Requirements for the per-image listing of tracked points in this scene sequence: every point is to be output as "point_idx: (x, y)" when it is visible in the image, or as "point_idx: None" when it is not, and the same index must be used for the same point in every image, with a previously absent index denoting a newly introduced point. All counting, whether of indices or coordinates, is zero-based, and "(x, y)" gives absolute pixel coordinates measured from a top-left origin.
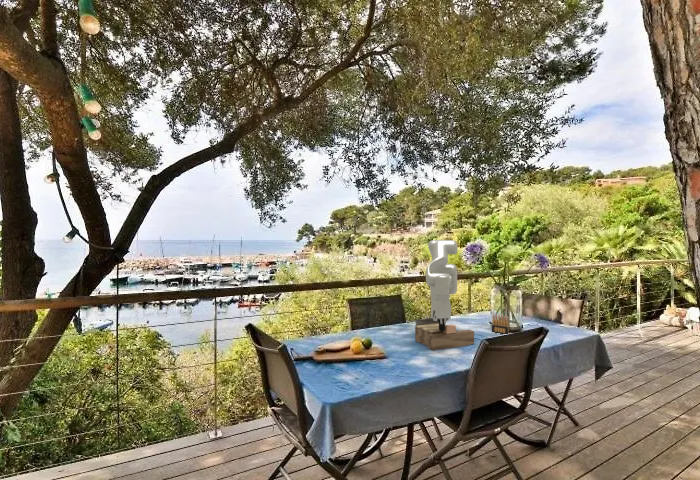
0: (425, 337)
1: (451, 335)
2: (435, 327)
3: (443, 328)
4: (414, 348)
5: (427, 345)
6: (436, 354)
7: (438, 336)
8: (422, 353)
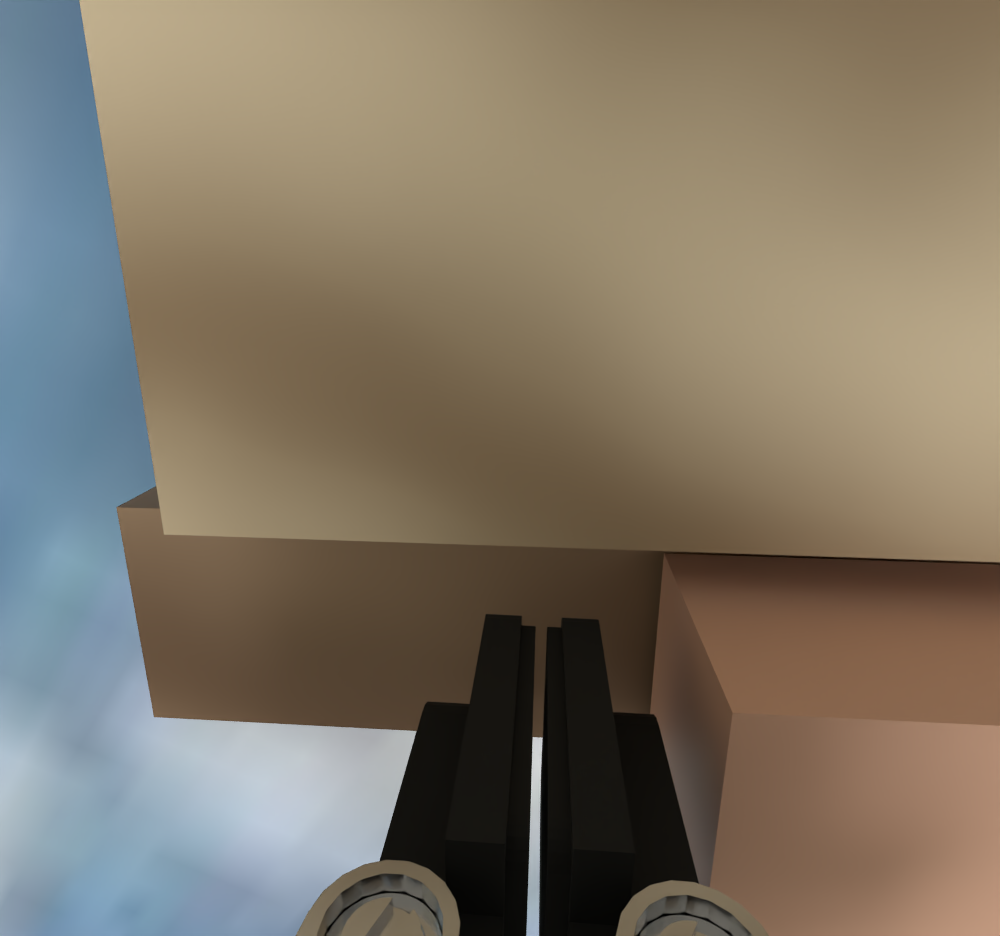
0: None
1: None
2: (695, 76)
3: (540, 862)
4: (38, 314)
5: None
6: (243, 741)
7: (346, 712)
8: (62, 617)
